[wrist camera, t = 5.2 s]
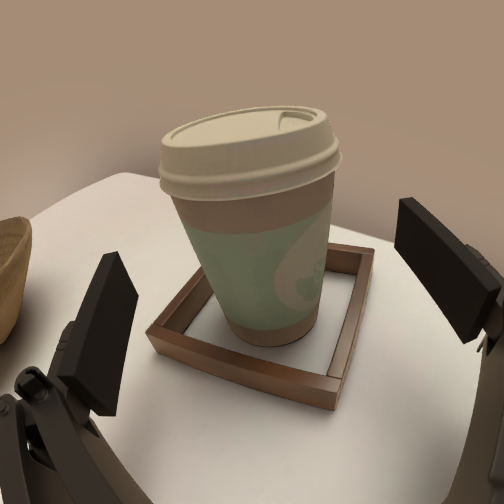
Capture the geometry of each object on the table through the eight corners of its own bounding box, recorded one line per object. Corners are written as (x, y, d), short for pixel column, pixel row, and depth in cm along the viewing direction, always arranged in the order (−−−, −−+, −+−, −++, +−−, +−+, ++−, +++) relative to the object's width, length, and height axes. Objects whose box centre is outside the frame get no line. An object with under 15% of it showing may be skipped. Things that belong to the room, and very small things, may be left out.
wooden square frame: (372, 270, 21) (374, 248, 20) (334, 411, 13) (337, 393, 12) (236, 250, 26) (231, 230, 25) (156, 352, 18) (144, 332, 17)
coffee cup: (291, 391, 15) (262, 157, 8) (182, 327, 20) (116, 150, 13) (360, 292, 20) (366, 107, 13) (260, 257, 25) (234, 105, 18)
